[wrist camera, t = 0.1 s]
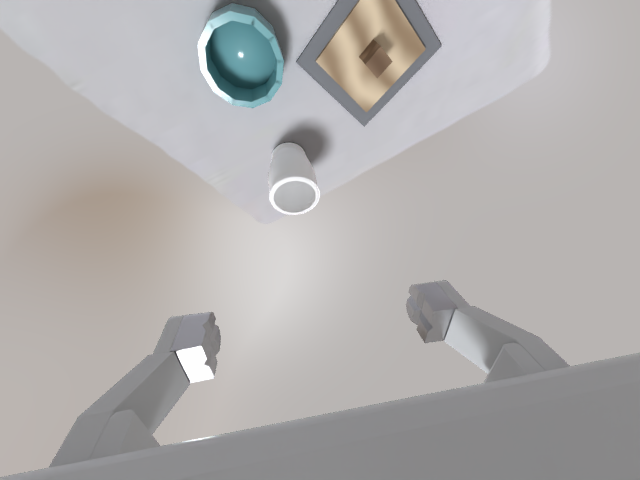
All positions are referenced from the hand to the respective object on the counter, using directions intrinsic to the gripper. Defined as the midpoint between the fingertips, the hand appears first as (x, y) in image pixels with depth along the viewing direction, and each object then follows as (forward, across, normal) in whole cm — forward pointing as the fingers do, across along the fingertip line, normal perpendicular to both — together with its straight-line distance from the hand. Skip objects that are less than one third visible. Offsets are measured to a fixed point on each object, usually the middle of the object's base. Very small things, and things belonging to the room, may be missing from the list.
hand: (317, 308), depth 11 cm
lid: (+50, -18, -12) cm, 55 cm away
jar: (+58, -2, +7) cm, 58 cm away
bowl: (+50, +5, -13) cm, 52 cm away
